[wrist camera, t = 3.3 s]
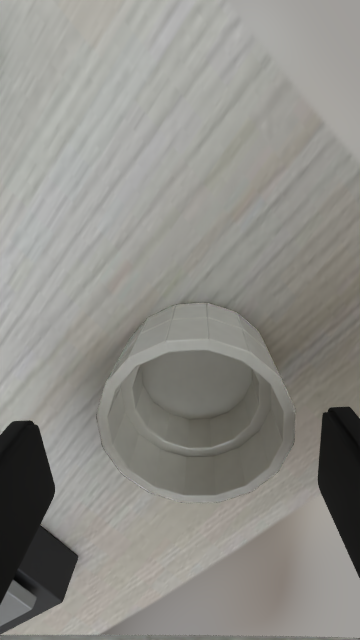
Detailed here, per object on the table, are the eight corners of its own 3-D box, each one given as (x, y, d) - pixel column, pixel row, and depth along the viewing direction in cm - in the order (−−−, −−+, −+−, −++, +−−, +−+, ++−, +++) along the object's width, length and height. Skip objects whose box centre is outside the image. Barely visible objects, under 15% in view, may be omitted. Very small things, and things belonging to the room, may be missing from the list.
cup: (268, 295, 14) (300, 333, 9) (267, 424, 16) (291, 502, 12) (116, 304, 14) (80, 345, 10) (135, 427, 16) (113, 504, 12)
